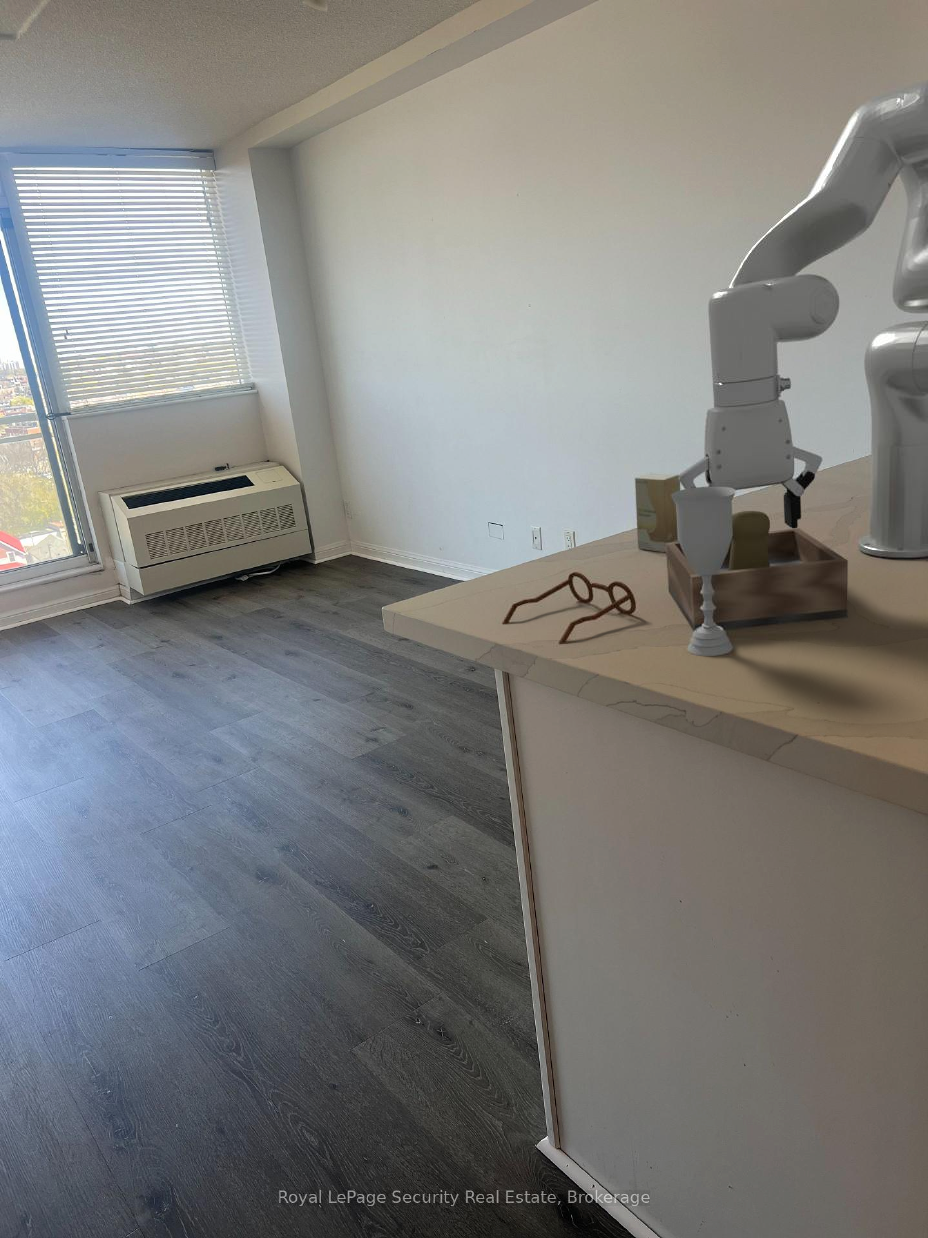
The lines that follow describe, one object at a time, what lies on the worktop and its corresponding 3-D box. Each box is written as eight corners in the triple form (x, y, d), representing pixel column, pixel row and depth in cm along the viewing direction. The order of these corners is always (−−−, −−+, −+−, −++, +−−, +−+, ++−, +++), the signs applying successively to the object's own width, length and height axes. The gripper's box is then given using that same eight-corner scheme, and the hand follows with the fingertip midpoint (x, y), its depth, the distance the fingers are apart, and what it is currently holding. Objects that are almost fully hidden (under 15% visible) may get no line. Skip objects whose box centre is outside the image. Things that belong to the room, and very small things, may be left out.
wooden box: (799, 577, 122) (799, 528, 120) (847, 617, 105) (847, 560, 103) (668, 591, 123) (665, 542, 121) (694, 632, 106) (691, 577, 104)
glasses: (639, 619, 115) (636, 582, 113) (561, 647, 108) (557, 608, 107) (575, 601, 126) (572, 568, 124) (500, 626, 119) (496, 591, 118)
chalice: (671, 642, 104) (662, 492, 99) (727, 633, 104) (721, 483, 99) (691, 663, 97) (683, 502, 92) (751, 654, 97) (746, 493, 92)
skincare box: (637, 549, 148) (632, 477, 144) (653, 543, 150) (648, 472, 147) (668, 553, 143) (664, 478, 139) (684, 546, 146) (680, 473, 142)
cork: (777, 601, 110) (776, 515, 107) (727, 604, 112) (724, 519, 108) (771, 587, 116) (770, 505, 113) (723, 590, 117) (721, 509, 114)
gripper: (808, 381, 109) (812, 515, 114) (668, 401, 110) (678, 533, 116) (829, 385, 102) (832, 528, 107) (679, 407, 103) (689, 547, 109)
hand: (752, 531), depth 111 cm, fingers open, 9 cm apart
